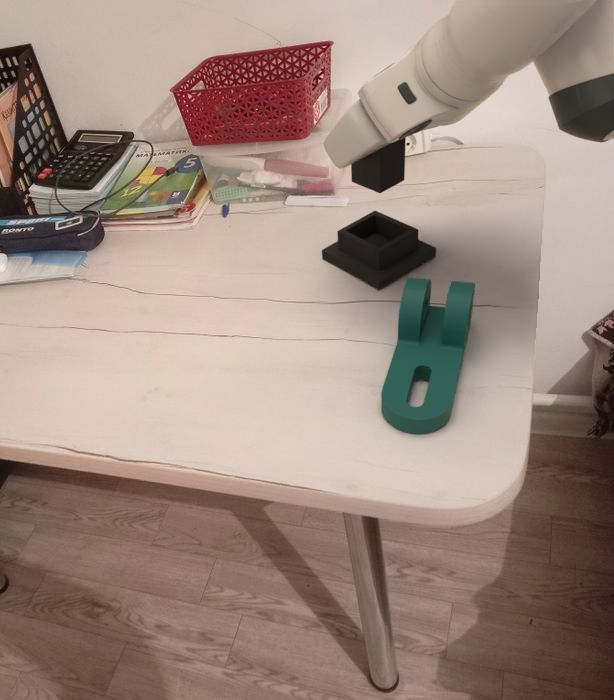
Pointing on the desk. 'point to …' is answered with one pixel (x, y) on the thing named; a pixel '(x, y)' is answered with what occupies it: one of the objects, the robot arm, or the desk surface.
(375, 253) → the square base socket
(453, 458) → the desk surface
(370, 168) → the upright block
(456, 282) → the bracket
